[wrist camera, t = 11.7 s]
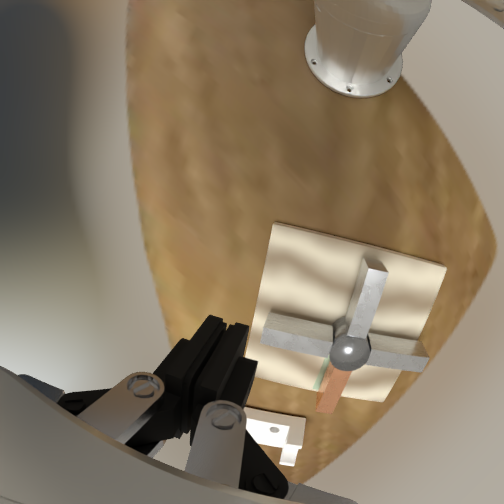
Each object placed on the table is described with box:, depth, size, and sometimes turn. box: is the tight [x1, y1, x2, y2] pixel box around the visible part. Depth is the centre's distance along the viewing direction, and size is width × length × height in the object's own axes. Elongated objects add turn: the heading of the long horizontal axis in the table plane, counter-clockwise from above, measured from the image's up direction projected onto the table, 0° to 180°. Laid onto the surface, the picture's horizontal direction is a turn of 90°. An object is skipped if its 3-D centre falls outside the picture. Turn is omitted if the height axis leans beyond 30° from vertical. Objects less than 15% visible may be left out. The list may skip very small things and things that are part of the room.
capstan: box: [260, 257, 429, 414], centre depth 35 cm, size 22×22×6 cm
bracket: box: [244, 407, 306, 466], centre depth 44 cm, size 13×7×8 cm, turn 84°
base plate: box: [245, 222, 447, 402], centre depth 38 cm, size 24×24×2 cm
